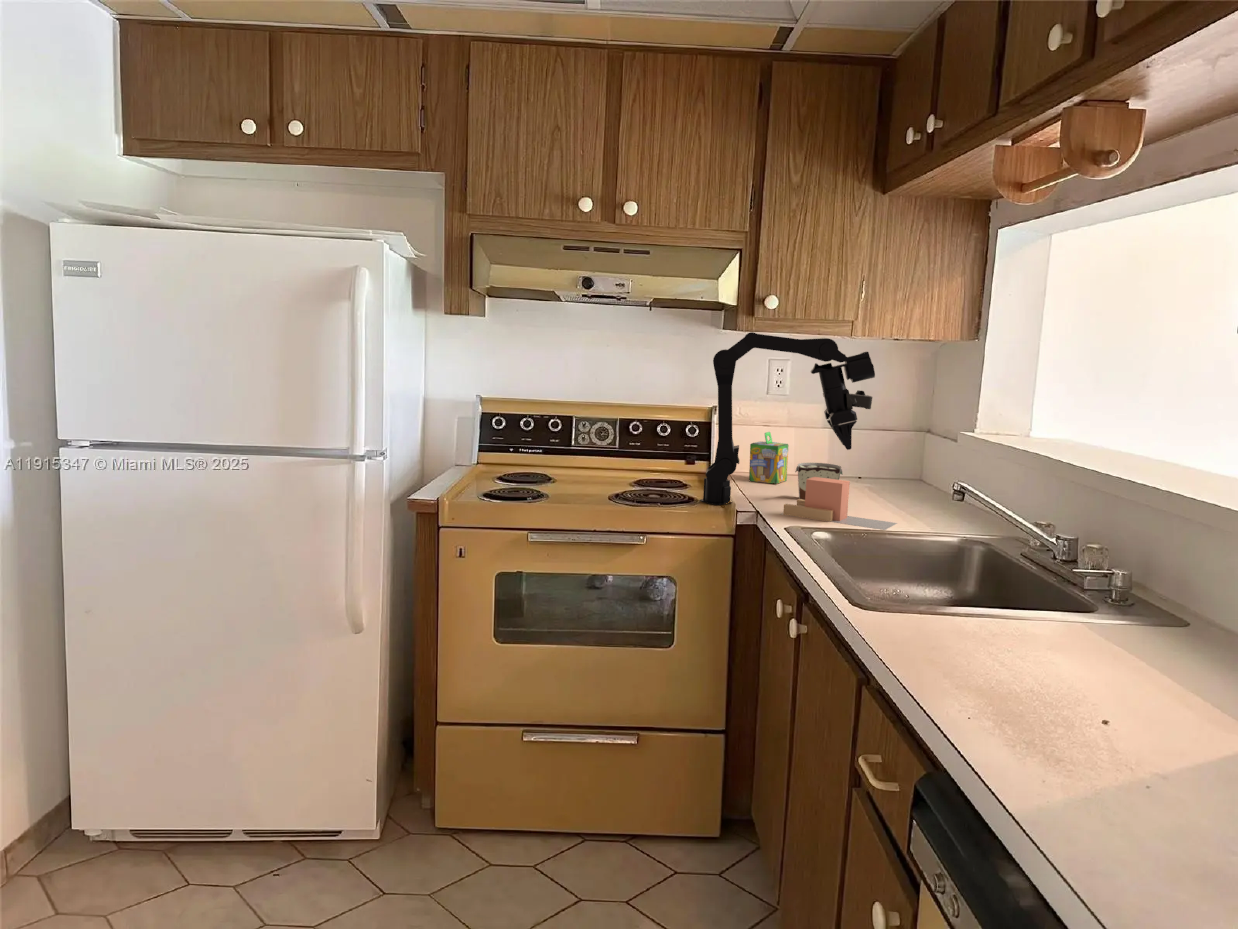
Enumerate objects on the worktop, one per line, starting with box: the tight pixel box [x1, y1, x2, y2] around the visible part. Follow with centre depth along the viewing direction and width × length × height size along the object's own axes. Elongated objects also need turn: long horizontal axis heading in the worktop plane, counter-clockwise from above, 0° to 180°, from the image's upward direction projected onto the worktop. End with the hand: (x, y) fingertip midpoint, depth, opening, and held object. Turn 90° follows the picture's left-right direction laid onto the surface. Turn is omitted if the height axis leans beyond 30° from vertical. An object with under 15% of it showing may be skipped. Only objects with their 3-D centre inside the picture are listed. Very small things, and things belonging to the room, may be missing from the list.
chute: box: [780, 498, 898, 531], centre depth 217 cm, size 26×10×3 cm, turn 56°
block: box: [805, 477, 851, 521], centre depth 218 cm, size 9×5×9 cm, turn 56°
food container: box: [795, 462, 843, 500], centre depth 242 cm, size 12×6×10 cm, turn 84°
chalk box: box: [748, 431, 789, 485], centre depth 271 cm, size 9×9×15 cm
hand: (847, 447), depth 229 cm, fingers open, 9 cm apart
